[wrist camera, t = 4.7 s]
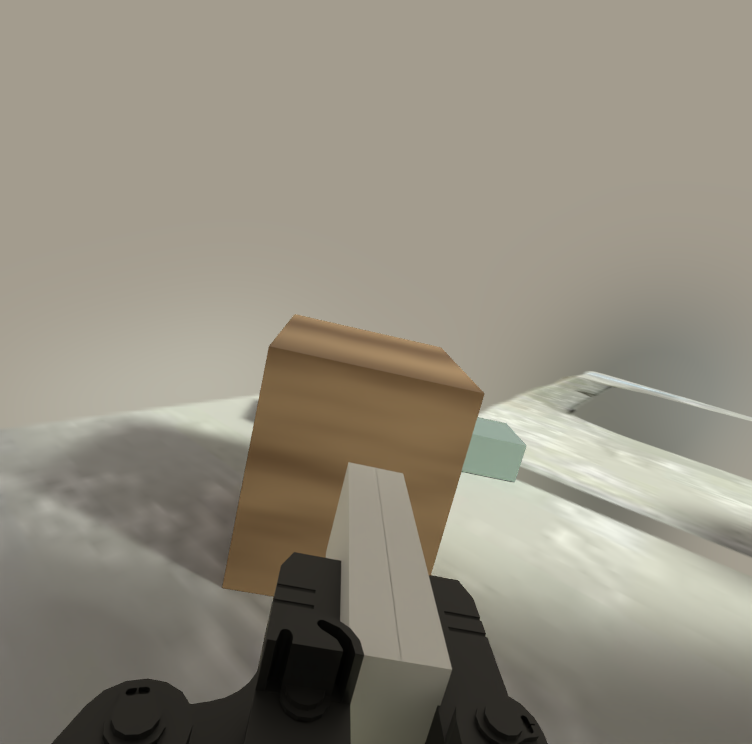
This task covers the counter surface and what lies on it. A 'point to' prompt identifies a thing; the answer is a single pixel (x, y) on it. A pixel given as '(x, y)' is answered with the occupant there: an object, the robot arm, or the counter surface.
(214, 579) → the counter surface
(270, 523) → the block
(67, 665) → the counter surface
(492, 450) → the board
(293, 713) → the robot arm
